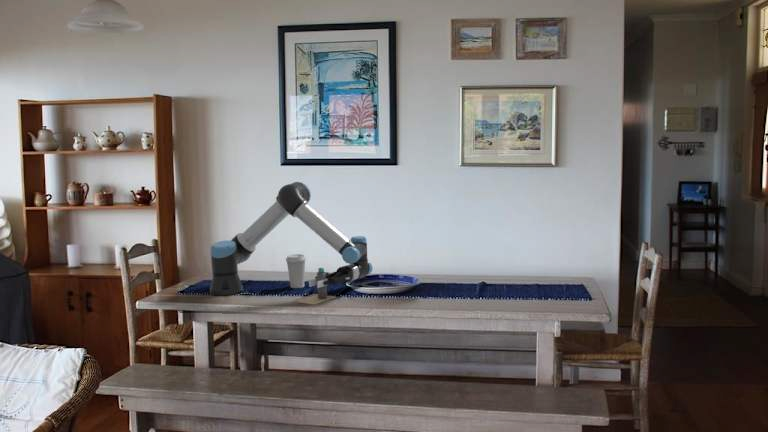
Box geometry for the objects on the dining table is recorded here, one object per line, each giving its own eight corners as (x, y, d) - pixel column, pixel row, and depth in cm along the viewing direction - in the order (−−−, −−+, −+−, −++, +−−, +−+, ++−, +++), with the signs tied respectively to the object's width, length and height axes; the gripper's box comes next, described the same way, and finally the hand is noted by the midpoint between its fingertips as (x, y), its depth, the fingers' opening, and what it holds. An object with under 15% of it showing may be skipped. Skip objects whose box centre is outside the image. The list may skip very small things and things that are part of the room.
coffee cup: (303, 289, 317) (302, 257, 316) (284, 288, 319) (282, 257, 317) (310, 284, 327) (308, 253, 325) (291, 284, 329) (289, 253, 327)
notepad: (293, 301, 295) (293, 300, 295) (314, 294, 306) (314, 293, 306) (314, 304, 288) (314, 304, 288) (335, 297, 299) (335, 296, 299)
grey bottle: (316, 297, 296) (314, 268, 295) (322, 295, 300) (320, 267, 298) (323, 298, 294) (321, 269, 292) (329, 296, 297) (327, 267, 296)
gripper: (332, 264, 315) (298, 274, 296) (361, 267, 305) (328, 277, 286) (333, 279, 316) (299, 290, 297) (362, 283, 306) (329, 294, 287)
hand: (313, 284), depth 292 cm, fingers closed on grey bottle, 4 cm apart
